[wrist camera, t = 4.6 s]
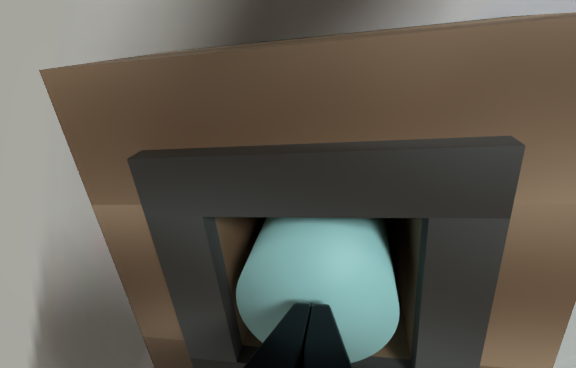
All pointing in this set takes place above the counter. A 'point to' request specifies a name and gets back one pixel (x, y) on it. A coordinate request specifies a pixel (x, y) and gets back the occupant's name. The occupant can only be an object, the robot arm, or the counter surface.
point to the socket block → (343, 179)
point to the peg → (323, 278)
